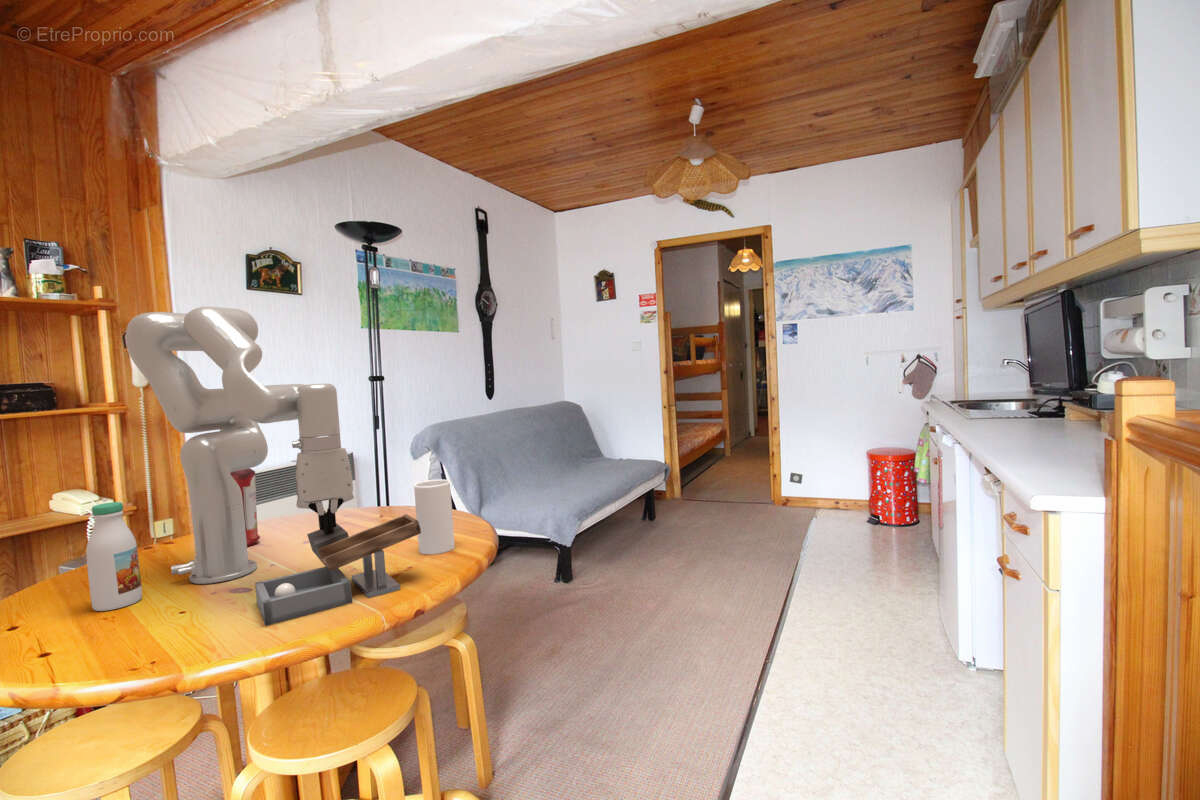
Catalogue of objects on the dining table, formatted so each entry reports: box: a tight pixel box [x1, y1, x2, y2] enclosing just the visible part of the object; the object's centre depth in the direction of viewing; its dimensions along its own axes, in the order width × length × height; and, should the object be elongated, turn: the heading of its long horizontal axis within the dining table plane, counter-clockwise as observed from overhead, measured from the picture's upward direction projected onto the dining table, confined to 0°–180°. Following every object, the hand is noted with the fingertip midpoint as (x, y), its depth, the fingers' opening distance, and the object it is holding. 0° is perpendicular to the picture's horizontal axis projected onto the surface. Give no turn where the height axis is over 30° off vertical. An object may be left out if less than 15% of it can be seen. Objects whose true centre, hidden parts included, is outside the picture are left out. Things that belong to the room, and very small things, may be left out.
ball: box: [274, 583, 296, 598], centre depth 108 cm, size 4×4×4 cm
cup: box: [413, 479, 456, 555], centre depth 139 cm, size 8×8×16 cm
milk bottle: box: [85, 501, 143, 612], centre depth 115 cm, size 8×8×20 cm
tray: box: [254, 566, 353, 627], centre depth 110 cm, size 14×13×4 cm
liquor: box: [230, 468, 261, 547], centre depth 152 cm, size 7×7×28 cm
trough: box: [306, 514, 421, 571], centre depth 121 cm, size 18×18×4 cm
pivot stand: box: [351, 549, 401, 599], centre depth 118 cm, size 6×13×8 cm, turn 36°
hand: (328, 531), depth 121 cm, fingers closed
